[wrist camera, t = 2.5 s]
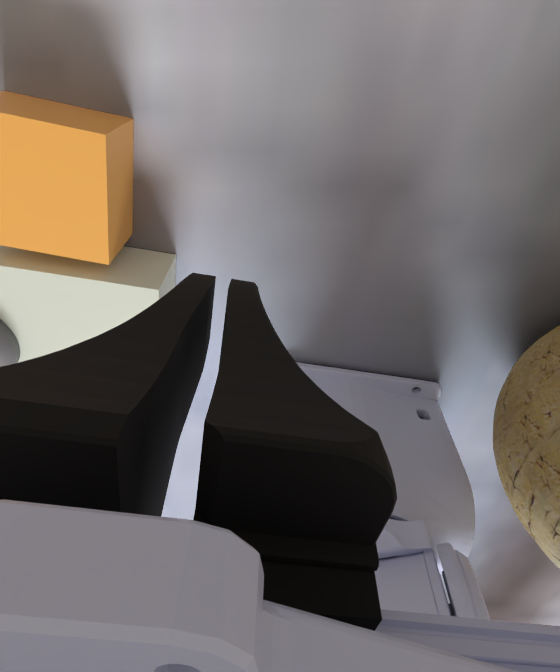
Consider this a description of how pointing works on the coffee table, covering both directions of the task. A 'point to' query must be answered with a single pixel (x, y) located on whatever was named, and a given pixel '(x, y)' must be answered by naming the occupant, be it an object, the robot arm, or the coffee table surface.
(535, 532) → the fossilized egg
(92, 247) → the chute block
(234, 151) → the coffee table surface
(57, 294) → the white notched block
